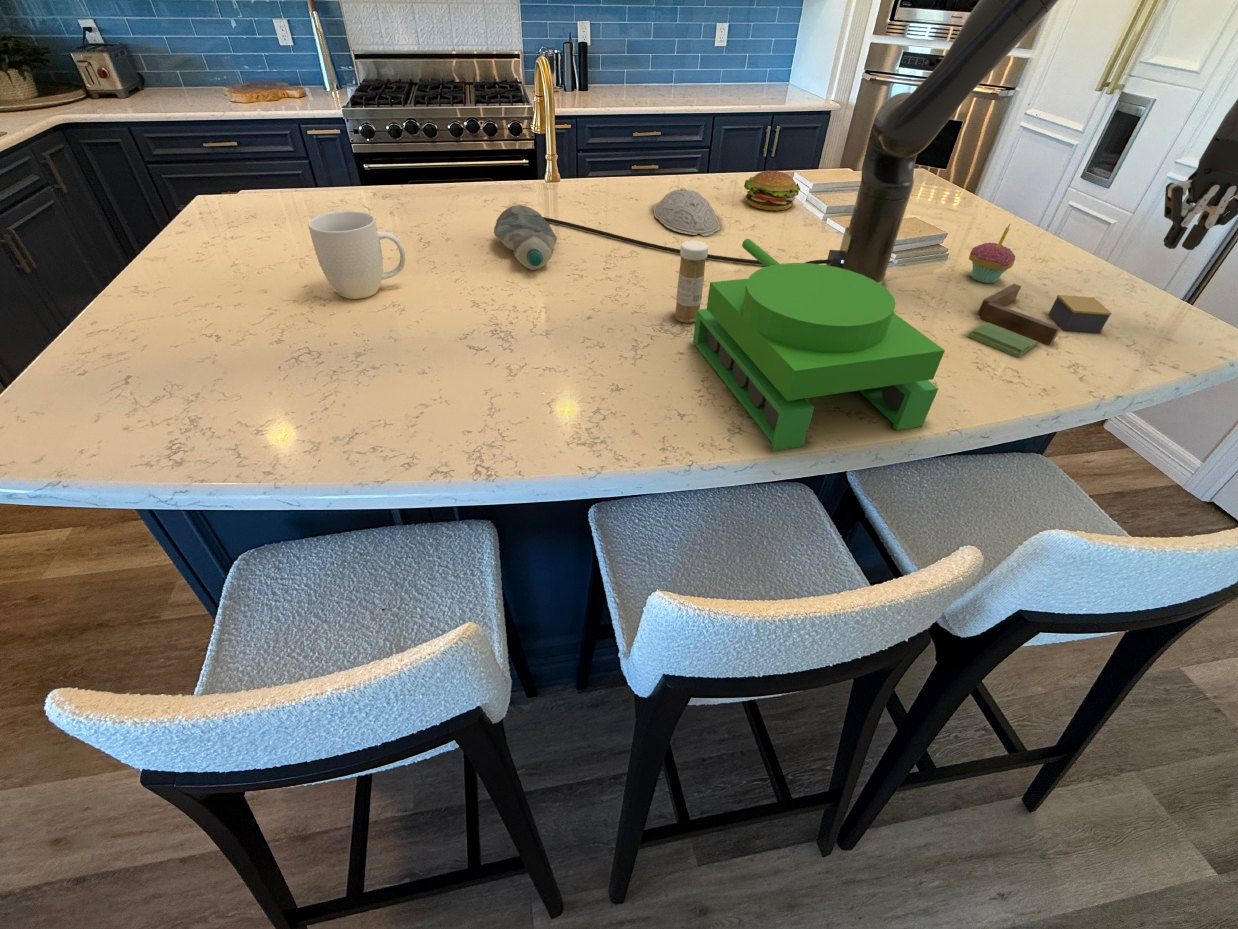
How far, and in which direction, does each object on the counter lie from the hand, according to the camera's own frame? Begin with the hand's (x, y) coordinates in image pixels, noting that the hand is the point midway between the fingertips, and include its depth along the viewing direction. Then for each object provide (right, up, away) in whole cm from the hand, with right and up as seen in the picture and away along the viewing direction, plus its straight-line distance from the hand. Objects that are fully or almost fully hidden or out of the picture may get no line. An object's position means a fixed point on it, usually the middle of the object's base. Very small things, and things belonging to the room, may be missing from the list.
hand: (1177, 247), depth 107 cm
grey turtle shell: (-79, +24, +48) cm, 95 cm away
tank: (-68, -23, -7) cm, 72 cm away
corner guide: (-23, -10, +11) cm, 27 cm away
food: (-55, +32, +59) cm, 87 cm away
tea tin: (-10, -11, +10) cm, 18 cm away
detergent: (-115, +7, +27) cm, 118 cm away
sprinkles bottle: (-83, -11, +6) cm, 84 cm away
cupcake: (-19, +2, +25) cm, 32 cm away
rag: (-28, -15, +4) cm, 32 cm away
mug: (-143, -5, +10) cm, 143 cm away
